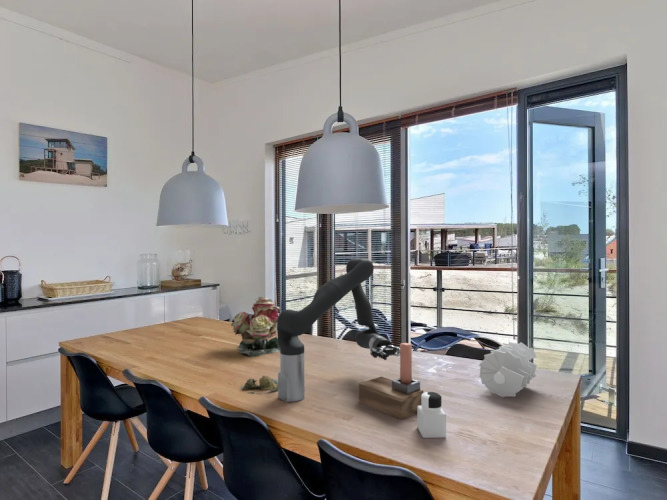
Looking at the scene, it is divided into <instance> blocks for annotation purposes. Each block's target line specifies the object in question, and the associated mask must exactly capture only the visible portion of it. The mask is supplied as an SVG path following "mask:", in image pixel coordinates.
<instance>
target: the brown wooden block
mask: <svg viewBox="0 0 667 500" xmlns="http://www.w3.org/2000/svg"><path fill="white" fill-rule="evenodd" d="M423 393H424V389H421V381H420V380H416V379H414V378H412V383H410V384H404V383H401V382H400V377H399V378H396V379H390V378H387V377H384V376H378V377H375V378H372V379H369V380H365V381H361V382H360V383H358V395H359V396H358V401H359V402H358V403H361V404H363V405H365V406H367V407H369V408H372V409H375V410H377V411H378V412H379V411H380V412H381V413H384V414H386V415H388V416H391V417H393V418H395V419H398V420H400V421H402V420H404V419H406V418H409V417H411V416H414V415H416V414H417V406H421V395H422V394H423ZM413 414H414V415H413Z"/></svg>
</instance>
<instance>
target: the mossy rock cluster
mask: <svg viewBox="0 0 667 500" xmlns="http://www.w3.org/2000/svg"><path fill="white" fill-rule="evenodd" d="M258 381H259V383H257V379H255V378H249V379H247V380H246V382H245V383H244V385H240V387H239V388H240V390H241V391H242V390H246V391H247V390H251V391H250V392H249V391H248V392H247V394H253V395H254V394H255V395H262V394H263V392H261V393H260V392H258V393H257V392H255V391H256V390H257V391H258V390H261V391H268V392H266V393H265V392H264V394H266V395H267V394H269V393H271V392H274V391H278V379H275V378H272V377H270V376H268V375H263V376H262V377H260V378H259V380H258Z"/></svg>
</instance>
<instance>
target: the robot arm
mask: <svg viewBox="0 0 667 500" xmlns="http://www.w3.org/2000/svg"><path fill="white" fill-rule="evenodd" d="M345 266H346V267H345V271H346V273H344V274H342V275H339V276H336V277H334V278H332V279H330V280H327V282H325V283H324V284H322V285H321V286H320V287H319V288H318V289H317V290H316V291H315V293H314V295H313V297H312V301H310V303H309V304H308V305H306V306H305V307H303V308H301V309H300V310H295V309H284V310H282V311H281V312H280V313H279V316H278V317H277V318H278V319H277V329H276V334H277V339H278V345H279V347H280V351H279V352H280V353H279V354H280V355H279V359H280V360H279V361H280V362H279V366H280V367H279V372H278V374H277V381H278V390H277V397H278V399H280V400H282V401H284V402H285V403H290V402H299V401H302V400H303V399H305V392H306V391H305V389H306V388H305V381H306V380H305V345H304V343H303V342H302V341H301V340H300V336H302V335H304V334H305V333H306V332H307V331H308V330H309V329H310V328H311V327H312V326H313V325H314V324H315V323H316V322H317V321H318V319H319V318H321V317H322V316H323V315H324V314H325V313H326V312H328V311H329V310H330V309H331V308H332V307H334V306H335V305H336V304H337V303H338V302H340V301H341V300H342V299H343V298H344V297H345V296H346V295H348V294H349V293H350V292H351V293H352V296H353V301H354V306H355V312H356V321H357V324H358V326H361V327H368V329H363V330H359V331H358V332H356V334H355V337H354V338H355V342H356V344H357V345H358V346H359V347H360V348H363V349H367V350H369V351H370V355H371V356H372V357H373V358H374V359H377V358H379V359H383V360H384V361H387V359H388V357H390V356H391V357H399V356H400V346H396V345H393V343H392V342H391V340H389V339H387V338H385V337H384V336H382V335H380V334H379V332H378V329H377V328H376V325H375V322H374V317H373V310H372V309H373V308H372V305H371V303H370V300H369V298H368V296H367V294H366V293H365V291H364V289H363V286H362V283H363V282H365V281H367V280H368V279H369V278H371V276H372V275H373V273H374V268H375V267H374V263H373V261H371V260H370V259H367V258H352V259H350V260H348V261H347V263H346V265H345Z"/></svg>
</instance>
